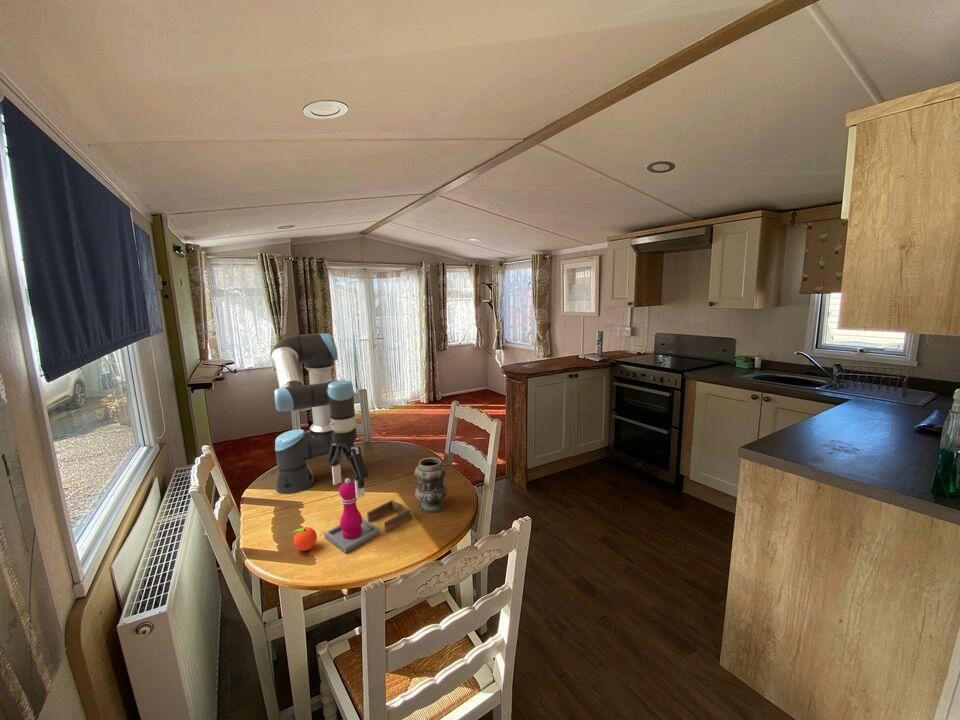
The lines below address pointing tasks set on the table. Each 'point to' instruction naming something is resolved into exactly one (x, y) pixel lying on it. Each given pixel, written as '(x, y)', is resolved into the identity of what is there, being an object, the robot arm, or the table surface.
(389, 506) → the cubby
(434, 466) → the apothecary jar
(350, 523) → the pepper mill
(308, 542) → the clementine
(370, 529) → the tray
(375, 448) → the table surface
